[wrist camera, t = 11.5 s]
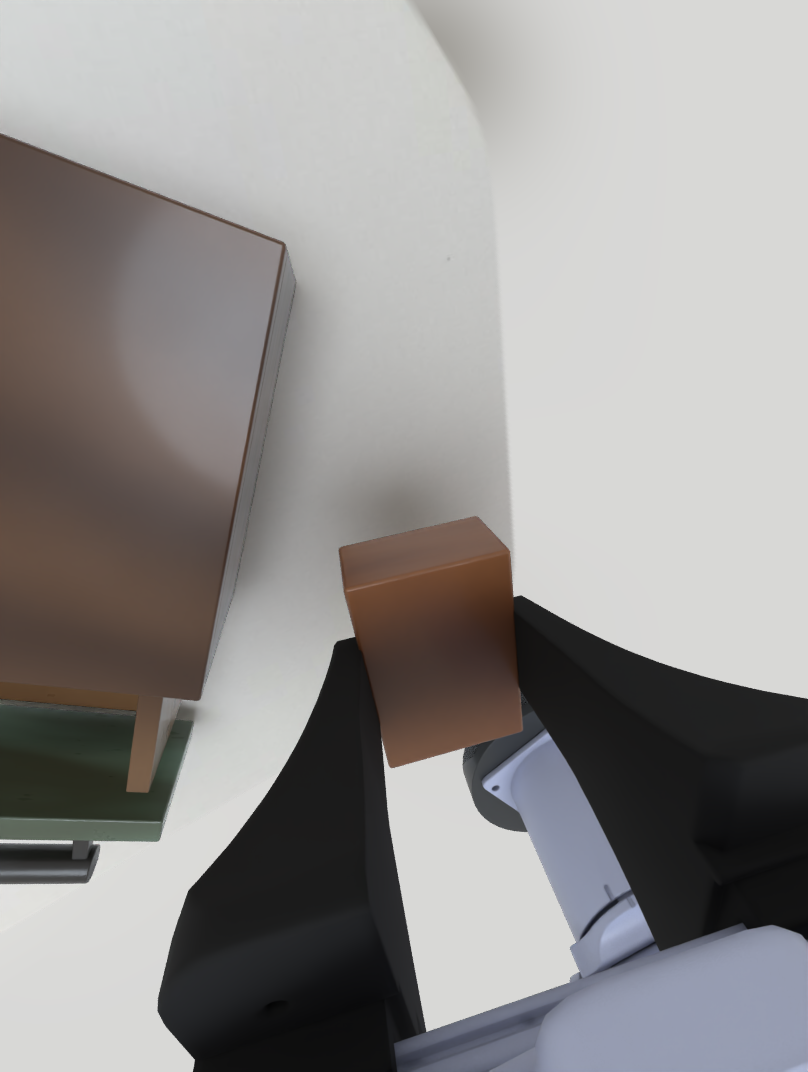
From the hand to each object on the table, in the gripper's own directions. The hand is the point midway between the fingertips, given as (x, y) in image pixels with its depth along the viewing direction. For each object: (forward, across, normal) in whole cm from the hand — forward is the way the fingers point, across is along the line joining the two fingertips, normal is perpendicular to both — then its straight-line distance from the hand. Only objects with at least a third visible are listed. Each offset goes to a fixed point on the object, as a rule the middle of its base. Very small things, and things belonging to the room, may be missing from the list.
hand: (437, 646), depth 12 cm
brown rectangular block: (+1, 0, 0) cm, 1 cm away
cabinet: (+10, +10, -7) cm, 15 cm away
